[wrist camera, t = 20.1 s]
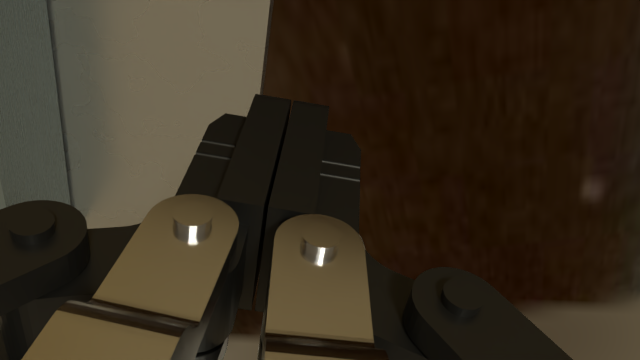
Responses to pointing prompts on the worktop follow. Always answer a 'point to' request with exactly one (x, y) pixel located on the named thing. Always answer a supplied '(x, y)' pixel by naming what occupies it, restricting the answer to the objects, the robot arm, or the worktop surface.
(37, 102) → the sliding jaw
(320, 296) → the robot arm
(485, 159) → the worktop surface
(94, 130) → the vise base
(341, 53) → the worktop surface
